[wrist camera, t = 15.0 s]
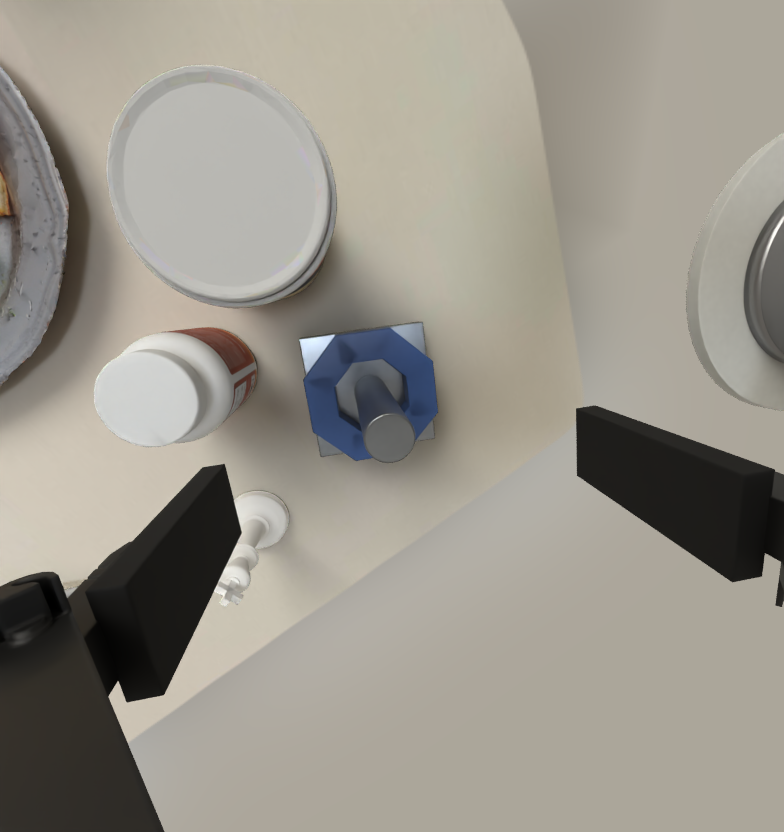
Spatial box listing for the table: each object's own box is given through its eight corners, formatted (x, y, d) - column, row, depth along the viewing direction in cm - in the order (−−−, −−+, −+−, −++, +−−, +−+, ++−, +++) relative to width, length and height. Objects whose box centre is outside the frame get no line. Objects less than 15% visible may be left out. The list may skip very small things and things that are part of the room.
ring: (423, 322, 29) (429, 322, 27) (435, 438, 31) (441, 446, 30) (298, 339, 28) (295, 340, 26) (320, 457, 31) (319, 467, 29)
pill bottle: (159, 334, 29) (52, 345, 18) (247, 320, 29) (193, 323, 18) (185, 417, 30) (100, 473, 19) (267, 403, 31) (228, 449, 20)
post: (418, 321, 31) (477, 325, 18) (431, 433, 33) (490, 509, 20) (300, 337, 30) (270, 354, 17) (321, 450, 32) (309, 542, 19)
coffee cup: (318, 327, 30) (304, 334, 18) (186, 286, 28) (79, 266, 16) (353, 196, 28) (363, 112, 16) (215, 144, 26) (117, 8, 15)
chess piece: (264, 555, 34) (234, 651, 24) (214, 523, 32) (161, 611, 23) (301, 512, 33) (285, 593, 24) (251, 478, 32) (213, 549, 22)
